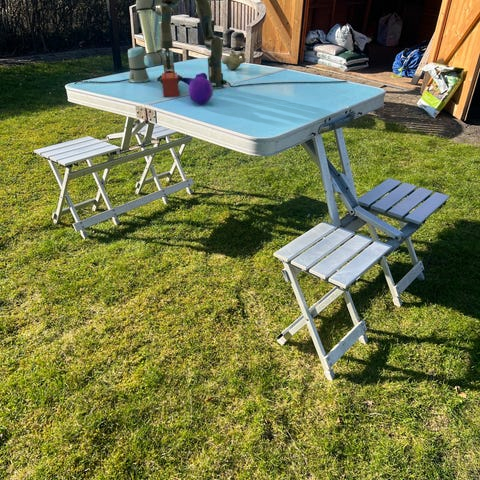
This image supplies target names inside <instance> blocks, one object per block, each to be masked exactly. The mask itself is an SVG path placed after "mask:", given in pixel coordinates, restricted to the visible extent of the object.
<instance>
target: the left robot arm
mask: <svg viewBox="0 0 480 480" xmlns="http://www.w3.org/2000/svg"><path fill="white" fill-rule="evenodd" d="M160 1H162V0H136V1H135V9H136V13H137V15H138V16H139V18H138V19H139V23H140V27H141V33H142V38H143V44H144V47H143V46H134V47H131V48H129V49H127V57H128V66H129V76H128V78H125V79H121V80H120V79H119V80H108V81H97V80H95V81H93V80H85V81H84V80H76V81H75V82H74V83H73V85H76V84H78V83H87V84H88V83H90V84H91V83H93V84H111V83H121V82H127V81H128V82H129V83H133V84H141V83H148V82H150V76H149V74H148V71H147V67H148V68H151V67H158V66H163V65H167V63H166V59H165V55H164V51H165V49H162V48H161V44H160V30H159V22H161V19H162V16H159V15H157V13H156V11H155V9H156V6H157V4H158V3H159V2H160ZM169 51H170V52H171V55H170V57H171V59H170V65H174V66H175V62H174V52H173V50H172V49H169ZM165 73H173V67H172V68H171V69H167V68H165ZM174 73H176V70H175V69H174ZM177 77H178V78H184V77H183V76H182V75H180V74H177ZM156 80H157V83H160V84H161V85H163V83H162V74H160V75H159V76H158V77H157V79H156ZM83 81H84V82H83ZM88 81H89V82H88ZM180 82H181V81H180V80H179V79H178V84H179V83H180Z"/></svg>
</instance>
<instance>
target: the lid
mask: <svg viewBox="0 0 480 480" xmlns="http://www.w3.org/2000/svg"><path fill="white" fill-rule="evenodd" d="M162 66H163V72H162V73H161V76H162V80H170V79H178V77H177V75H178V72H175V73H174V70H175V64H174V65H170V68H172V67H173V73H165V68H167V65H162Z"/></svg>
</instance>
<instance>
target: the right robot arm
mask: <svg viewBox="0 0 480 480" xmlns="http://www.w3.org/2000/svg"><path fill="white" fill-rule="evenodd" d="M180 1H181V0H162V1H160V2H159V3H158V4H157V6H156V9H155V11H156V13H157V15H159V16H162V19H161V22H159V30H160V46H161V48H162V49H163V50H165V51H164V55H165V59H166V63H167V69H171V68H170V59H171V57H170V55H171V52H170V51H169V50H170V49H173V48H174V43H173V34H172V28H171V27H172V26H171V25H172V24H171V23H172V15H173V14H172V13H173V11H172V8H174V7H176V6H177V5H178V4H179V3H180ZM193 1H194V4H195V9H196V12H197V16H198V19H199V23H200V27H201V30H202V31H201V32H202V38H203V44H204V47H205V48H206V49H207V50H208V51H210V55H209V56H207V77H208V80H209V81H210V83H211V84H212V88H213V90H218V89H219V90H220V89H223V88H224V86H226V85H227V84H228V85H229V87H230V88H238V87H243V86H244V87H245V86H257V85H275V84H330V83H333V84H335V83H337V84H338V83H348V80H333V81H278V82H276V81H275V82H257V83H246V84H245V83H243V84H238V85H231V83H230V82H228V81H227V80H226V79H225V78H224V73H223V70H222V59H223V40H222V38H221V37H220V36H218V35H214V33H213V29H212V21H213V11H212V7H211V3H210V1H209V0H193Z"/></svg>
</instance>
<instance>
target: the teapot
mask: <svg viewBox="0 0 480 480" xmlns="http://www.w3.org/2000/svg"><path fill="white" fill-rule="evenodd" d="M240 57H241V59H240ZM245 61H246V56H245V53H244V52H243V51H240V52H238V53H237V54H236V52H235V50H233V49H232V50H231V51H230V53H229V56H224V57H222V58H221V64H223V65H225V66H226V68H227V69H228V70H230V71H234V70H237V69H238V68H239V67H240V66H241V64H244V63H245Z"/></svg>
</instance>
